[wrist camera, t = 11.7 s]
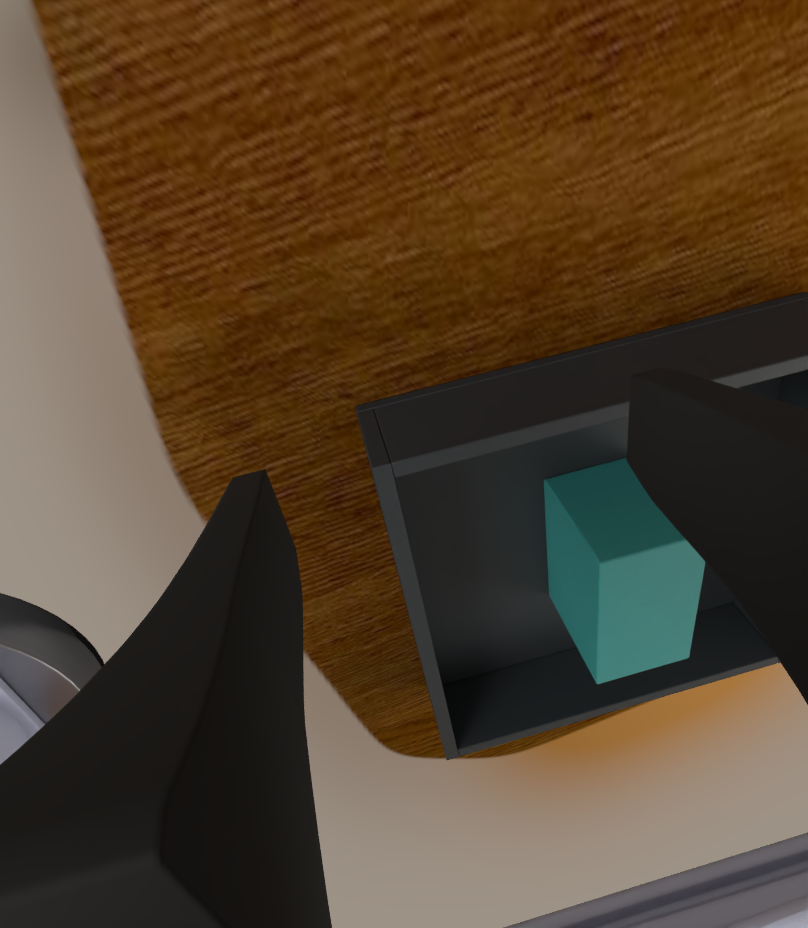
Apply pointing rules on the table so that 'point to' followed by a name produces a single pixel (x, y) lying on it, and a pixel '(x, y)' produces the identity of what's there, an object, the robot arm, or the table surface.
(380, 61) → the table surface
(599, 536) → the teal block
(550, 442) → the dark grey square tray
